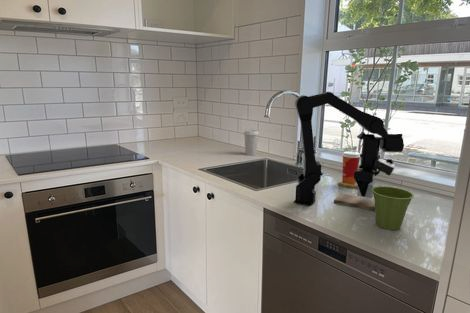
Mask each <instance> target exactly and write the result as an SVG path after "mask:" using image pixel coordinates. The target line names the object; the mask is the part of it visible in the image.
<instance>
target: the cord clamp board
mask: <svg viewBox="0 0 470 313" xmlns="http://www.w3.org/2000/svg"><path fill="white" fill-rule="evenodd" d="M379 186H380V185H378V186H377V187H379ZM337 187H340V188H343V189H350V190H355V191H358V185H357V184H355V185H351V184H345V183H342V182H338V183H337ZM333 203H334V204H337V203H338V205H343V206H348V207H354V208H359V209H364V210H369V211H373V212H375V199H374V198H366V197H360V196H357V195H352V194H348V193H347V194H346V193H342V192H341V193H340V194H338V195H337V196H336V197H335V198H334V199H333Z"/></svg>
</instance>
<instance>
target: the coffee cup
mask: <svg viewBox="0 0 470 313" xmlns="http://www.w3.org/2000/svg"><path fill="white" fill-rule="evenodd" d="M259 134H260V133H259V130H258V129H245V130H244V132H243V136H244V147H245V148H244V149H245V155H247V156H256V155H257V149H258V142H259V141H258V140H259Z"/></svg>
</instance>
